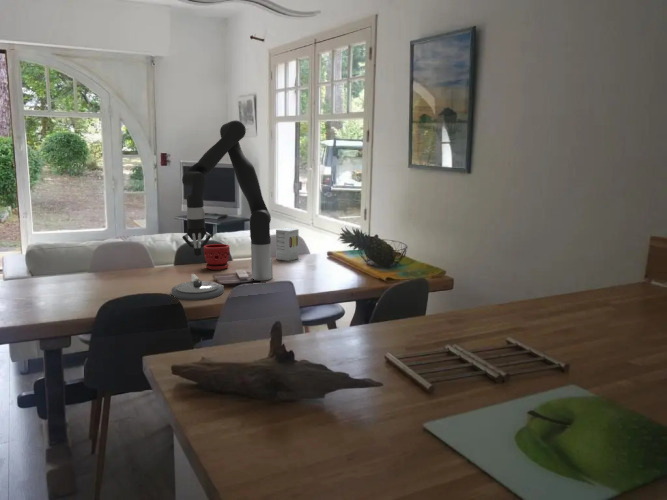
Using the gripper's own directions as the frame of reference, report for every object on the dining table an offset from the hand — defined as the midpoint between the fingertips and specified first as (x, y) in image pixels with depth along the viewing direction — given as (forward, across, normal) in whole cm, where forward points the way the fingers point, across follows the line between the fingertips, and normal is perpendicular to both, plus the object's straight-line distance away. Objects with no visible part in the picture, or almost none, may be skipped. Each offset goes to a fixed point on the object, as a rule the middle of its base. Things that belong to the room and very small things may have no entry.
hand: (197, 256), depth 253 cm
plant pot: (+15, -8, -40) cm, 44 cm away
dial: (+13, +1, +7) cm, 15 cm away
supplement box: (+15, -47, -57) cm, 75 cm away
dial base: (+15, +1, +8) cm, 17 cm away
